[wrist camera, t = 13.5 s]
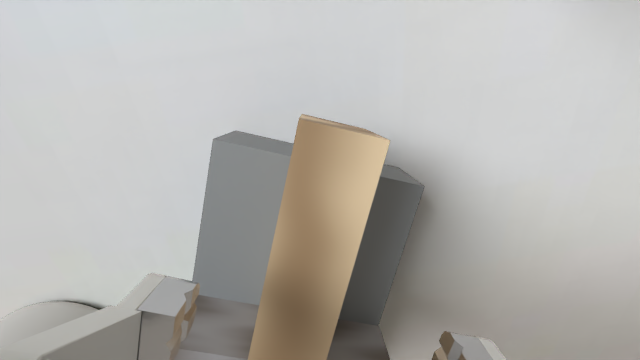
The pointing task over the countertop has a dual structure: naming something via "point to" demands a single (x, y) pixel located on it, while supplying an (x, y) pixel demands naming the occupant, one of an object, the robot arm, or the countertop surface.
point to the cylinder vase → (39, 319)
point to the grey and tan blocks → (305, 259)
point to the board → (261, 219)
